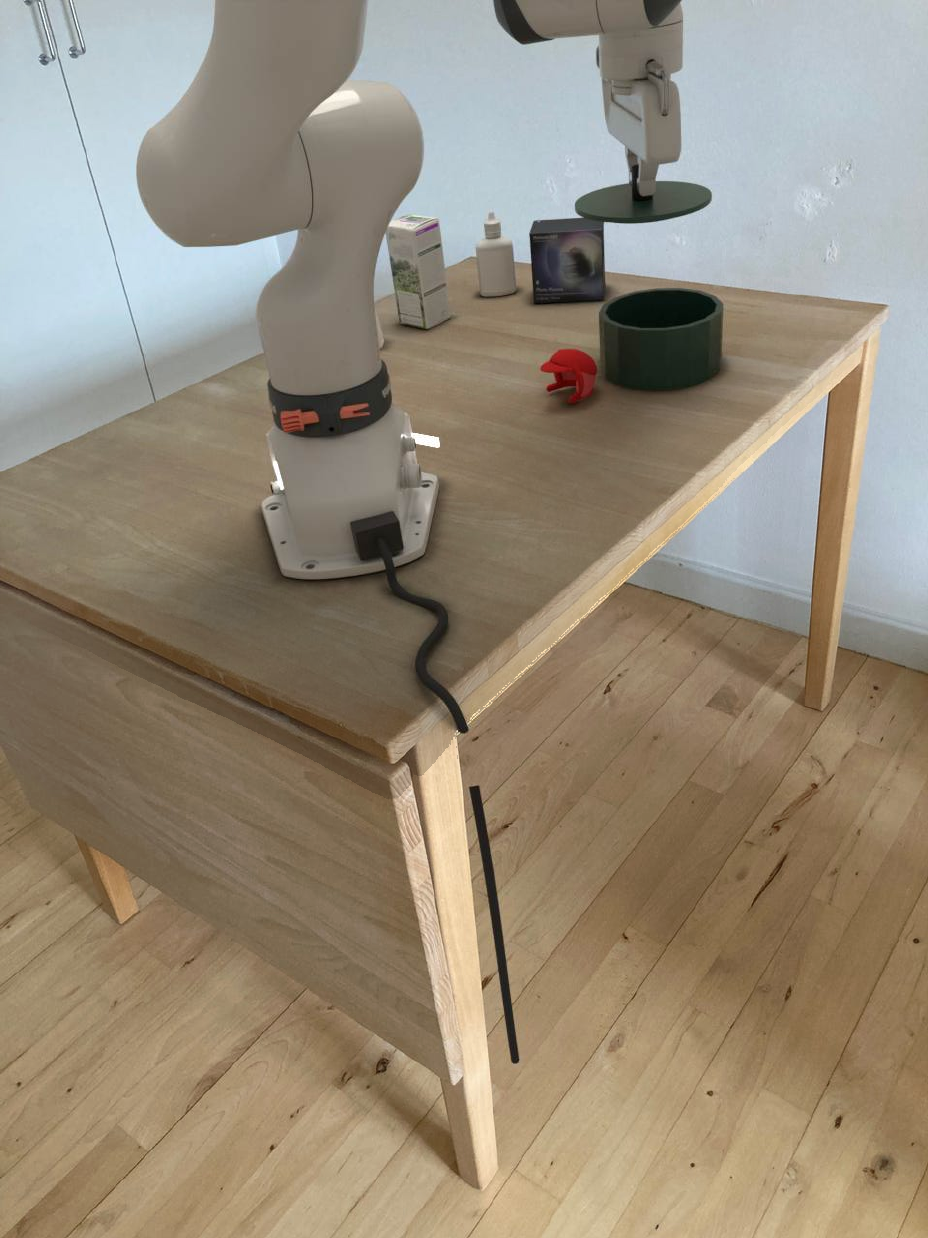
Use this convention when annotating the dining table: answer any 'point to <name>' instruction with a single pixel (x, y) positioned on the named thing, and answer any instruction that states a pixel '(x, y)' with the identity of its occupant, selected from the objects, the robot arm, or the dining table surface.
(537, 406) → the dining table surface
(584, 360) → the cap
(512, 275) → the eye dropper bottle
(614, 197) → the lid
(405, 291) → the syrup box
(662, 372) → the pot
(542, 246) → the small box
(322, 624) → the dining table surface
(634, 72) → the robot arm
